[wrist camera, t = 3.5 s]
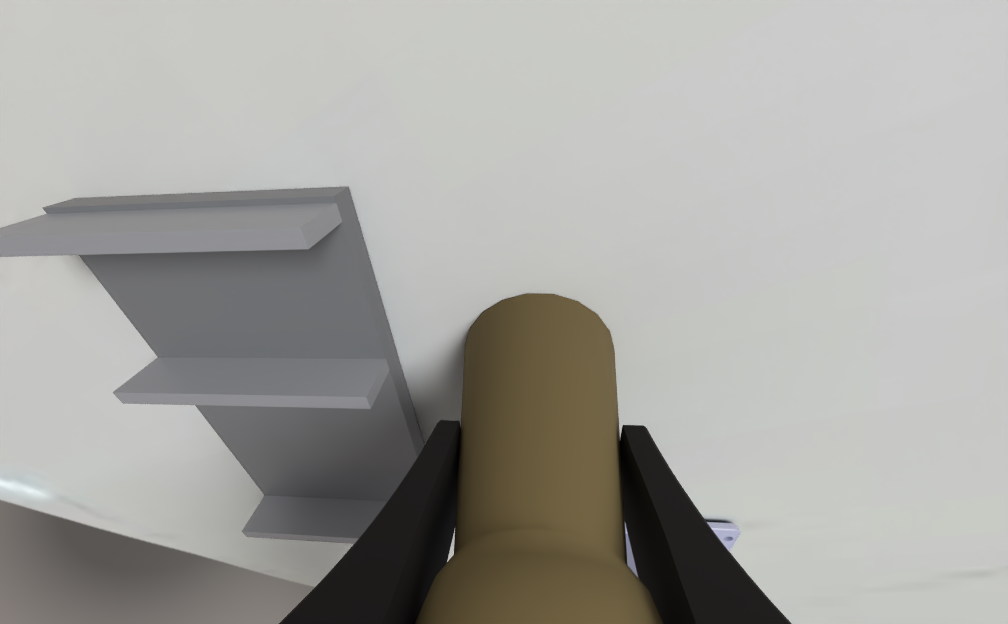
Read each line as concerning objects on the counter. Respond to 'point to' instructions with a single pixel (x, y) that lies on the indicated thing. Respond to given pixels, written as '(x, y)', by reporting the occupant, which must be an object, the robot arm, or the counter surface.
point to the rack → (257, 339)
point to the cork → (539, 476)
